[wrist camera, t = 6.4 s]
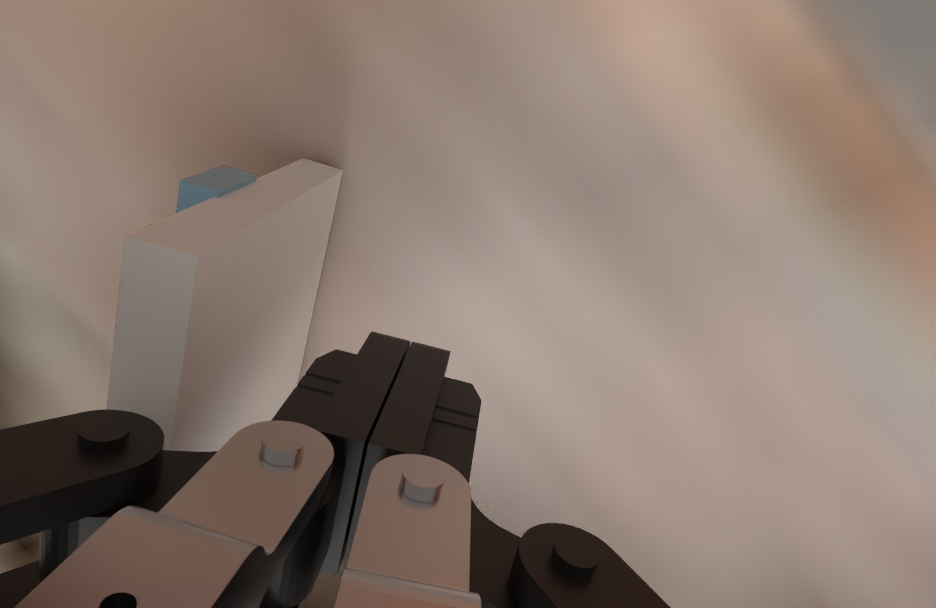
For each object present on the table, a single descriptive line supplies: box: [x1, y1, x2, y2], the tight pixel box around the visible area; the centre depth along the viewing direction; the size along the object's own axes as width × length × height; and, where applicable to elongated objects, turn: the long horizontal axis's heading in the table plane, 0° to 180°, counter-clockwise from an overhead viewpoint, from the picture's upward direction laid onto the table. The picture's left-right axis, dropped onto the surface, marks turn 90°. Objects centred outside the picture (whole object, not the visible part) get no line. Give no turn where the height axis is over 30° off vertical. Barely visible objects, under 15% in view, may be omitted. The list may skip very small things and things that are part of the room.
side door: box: [107, 158, 343, 452], centre depth 13 cm, size 2×13×7 cm, turn 165°
